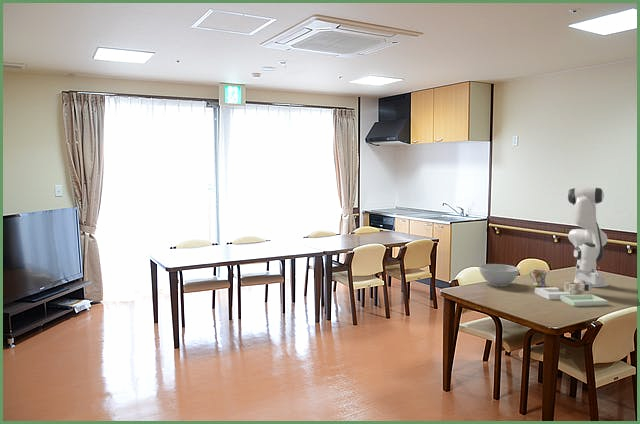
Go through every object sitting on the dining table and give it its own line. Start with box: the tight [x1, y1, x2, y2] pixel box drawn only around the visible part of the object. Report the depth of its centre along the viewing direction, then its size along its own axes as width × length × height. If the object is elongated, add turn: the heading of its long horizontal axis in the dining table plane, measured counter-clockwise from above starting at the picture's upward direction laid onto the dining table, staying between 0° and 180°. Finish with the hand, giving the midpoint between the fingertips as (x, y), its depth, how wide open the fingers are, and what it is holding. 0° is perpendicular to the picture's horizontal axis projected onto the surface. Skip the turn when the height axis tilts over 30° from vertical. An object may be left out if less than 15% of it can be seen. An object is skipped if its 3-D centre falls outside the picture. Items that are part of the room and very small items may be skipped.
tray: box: [559, 294, 608, 307], centre depth 317 cm, size 22×14×3 cm, turn 98°
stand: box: [534, 286, 571, 301], centre depth 332 cm, size 15×16×4 cm
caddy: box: [563, 281, 590, 295], centre depth 335 cm, size 15×6×8 cm, turn 97°
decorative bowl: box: [478, 263, 520, 288], centre depth 361 cm, size 27×27×12 cm
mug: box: [529, 269, 548, 288], centre depth 359 cm, size 12×9×11 cm
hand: (587, 288), depth 335 cm, fingers open, 3 cm apart
